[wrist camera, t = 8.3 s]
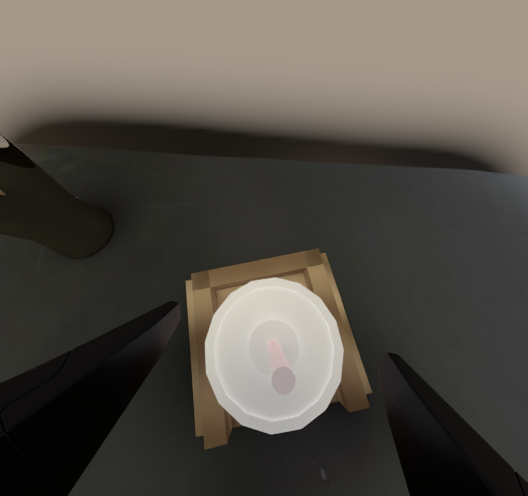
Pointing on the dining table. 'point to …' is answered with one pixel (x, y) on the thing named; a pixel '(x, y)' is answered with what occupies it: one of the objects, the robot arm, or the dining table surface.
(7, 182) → the beer glass
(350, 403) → the tray
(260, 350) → the beverage cup
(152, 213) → the dining table surface
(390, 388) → the robot arm
